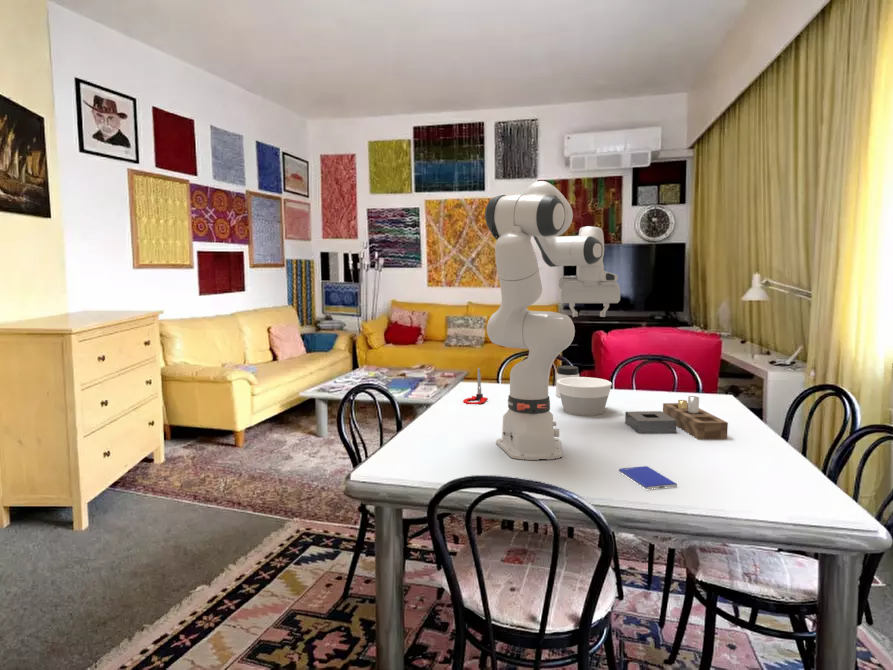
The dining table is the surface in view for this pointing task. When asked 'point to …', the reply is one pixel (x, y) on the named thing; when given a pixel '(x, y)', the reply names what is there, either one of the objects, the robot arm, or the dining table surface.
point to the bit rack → (697, 422)
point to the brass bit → (682, 404)
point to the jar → (565, 375)
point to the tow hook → (479, 395)
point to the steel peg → (693, 405)
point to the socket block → (650, 422)
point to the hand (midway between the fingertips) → (588, 316)
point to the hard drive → (647, 477)
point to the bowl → (584, 395)
